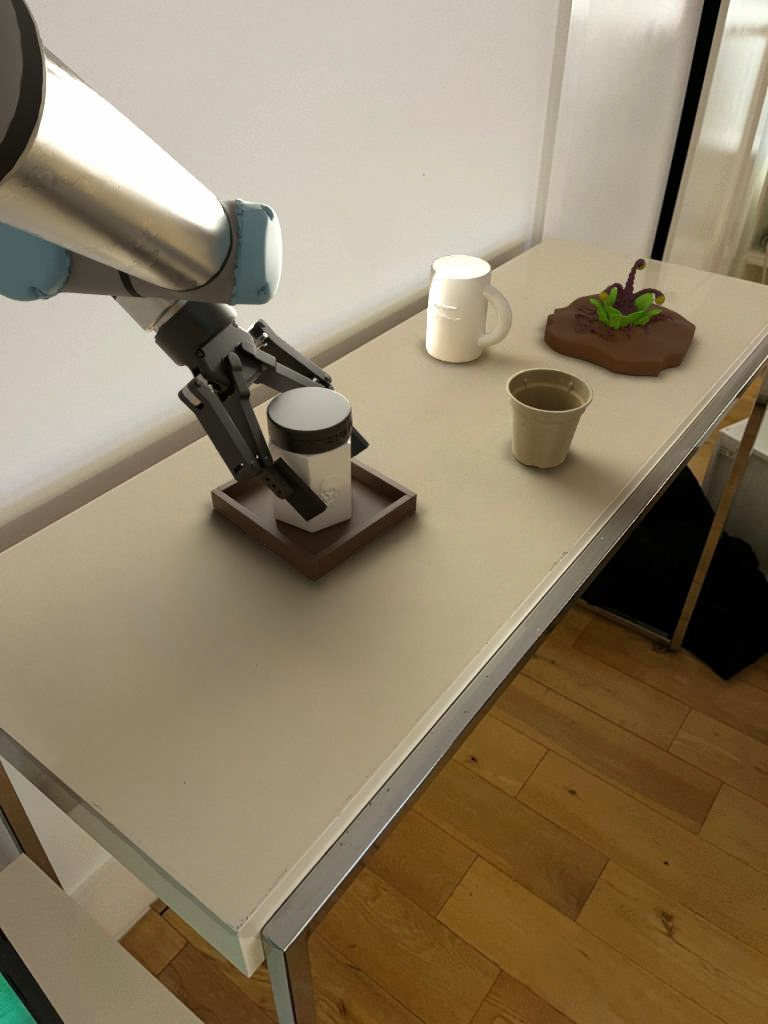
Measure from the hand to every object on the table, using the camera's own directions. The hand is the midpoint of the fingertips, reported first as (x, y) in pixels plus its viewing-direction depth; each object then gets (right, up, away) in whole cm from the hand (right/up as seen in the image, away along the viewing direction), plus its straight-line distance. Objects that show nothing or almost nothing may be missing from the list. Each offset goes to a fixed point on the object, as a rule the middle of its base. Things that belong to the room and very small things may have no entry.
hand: (339, 481), depth 78 cm
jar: (-3, -3, +3) cm, 5 cm away
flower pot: (+22, +4, +12) cm, 26 cm away
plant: (+38, +22, +34) cm, 56 cm away
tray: (-3, -3, +4) cm, 5 cm away
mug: (+16, +19, +30) cm, 39 cm away
